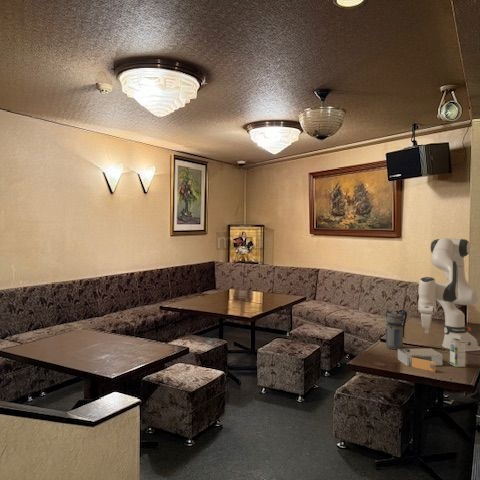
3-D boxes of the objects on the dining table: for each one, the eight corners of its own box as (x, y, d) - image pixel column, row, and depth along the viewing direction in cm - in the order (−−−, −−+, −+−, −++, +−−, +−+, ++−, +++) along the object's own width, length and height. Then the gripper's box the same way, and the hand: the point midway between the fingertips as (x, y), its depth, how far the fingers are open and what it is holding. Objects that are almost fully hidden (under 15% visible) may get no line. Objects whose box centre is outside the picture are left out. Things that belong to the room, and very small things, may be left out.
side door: (435, 371, 215) (435, 361, 215) (434, 372, 214) (434, 362, 214) (410, 365, 224) (410, 356, 224) (409, 366, 223) (409, 356, 223)
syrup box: (449, 363, 228) (449, 338, 227) (459, 363, 228) (459, 337, 228) (455, 367, 222) (455, 340, 222) (465, 366, 223) (466, 340, 222)
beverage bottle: (409, 350, 253) (409, 310, 252) (387, 350, 254) (387, 310, 253) (403, 345, 263) (404, 307, 263) (382, 345, 264) (383, 307, 264)
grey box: (429, 357, 239) (429, 346, 239) (442, 365, 225) (442, 353, 225) (396, 357, 238) (396, 346, 238) (406, 365, 224) (406, 354, 224)
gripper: (422, 303, 232) (421, 328, 232) (419, 310, 214) (419, 336, 214) (434, 304, 229) (434, 329, 229) (432, 311, 211) (432, 337, 211)
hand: (426, 332), depth 221 cm, fingers closed
